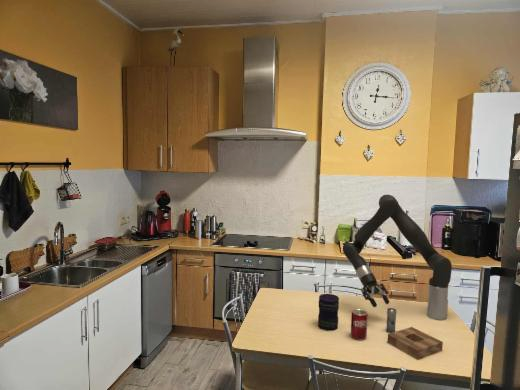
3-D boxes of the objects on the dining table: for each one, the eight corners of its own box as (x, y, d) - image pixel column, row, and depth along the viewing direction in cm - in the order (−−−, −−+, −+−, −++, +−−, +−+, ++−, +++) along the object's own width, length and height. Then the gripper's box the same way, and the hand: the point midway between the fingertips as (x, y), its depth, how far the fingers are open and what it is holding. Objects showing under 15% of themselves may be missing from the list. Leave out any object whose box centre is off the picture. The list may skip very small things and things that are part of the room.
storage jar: (341, 326, 179) (343, 297, 177) (331, 333, 172) (332, 302, 170) (324, 320, 186) (325, 292, 184) (313, 326, 178) (314, 297, 177)
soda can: (348, 333, 172) (349, 309, 171) (363, 333, 172) (364, 308, 171) (353, 340, 164) (354, 315, 163) (369, 340, 165) (370, 315, 164)
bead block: (411, 334, 171) (411, 326, 171) (442, 350, 157) (442, 341, 157) (387, 342, 163) (387, 334, 163) (417, 359, 149) (418, 350, 149)
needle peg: (390, 328, 177) (391, 307, 176) (396, 332, 174) (398, 310, 173) (384, 330, 175) (385, 308, 174) (391, 334, 172) (392, 311, 171)
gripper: (359, 274, 182) (375, 304, 173) (380, 270, 189) (396, 299, 180) (351, 281, 187) (367, 310, 178) (371, 277, 194) (387, 305, 185)
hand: (381, 305), depth 179 cm, fingers open, 8 cm apart
